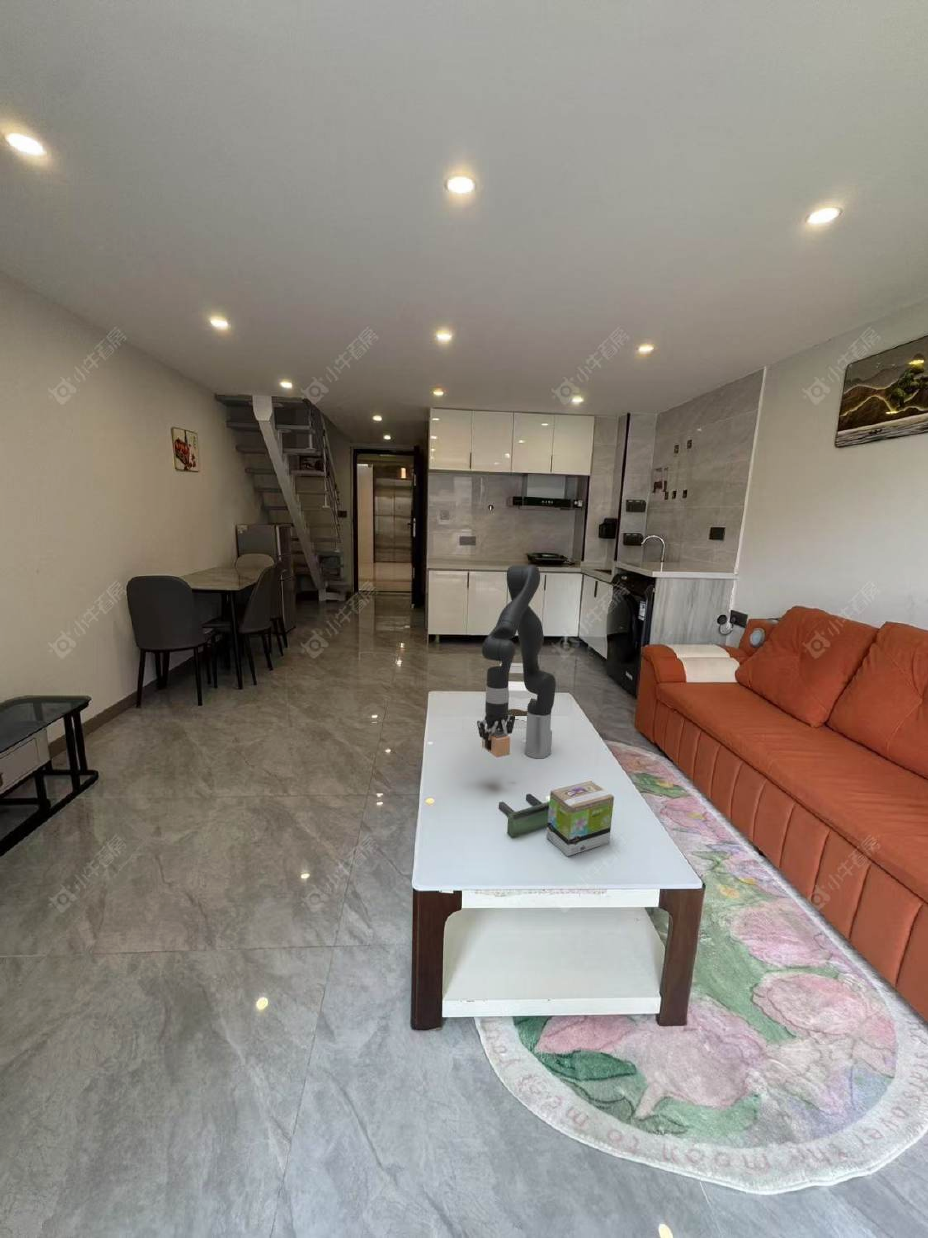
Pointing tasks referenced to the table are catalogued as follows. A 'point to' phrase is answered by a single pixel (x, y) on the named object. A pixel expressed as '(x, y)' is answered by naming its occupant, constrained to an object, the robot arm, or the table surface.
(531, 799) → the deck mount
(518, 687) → the gable box
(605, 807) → the tea box
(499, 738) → the framed panel box
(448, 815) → the table surface
